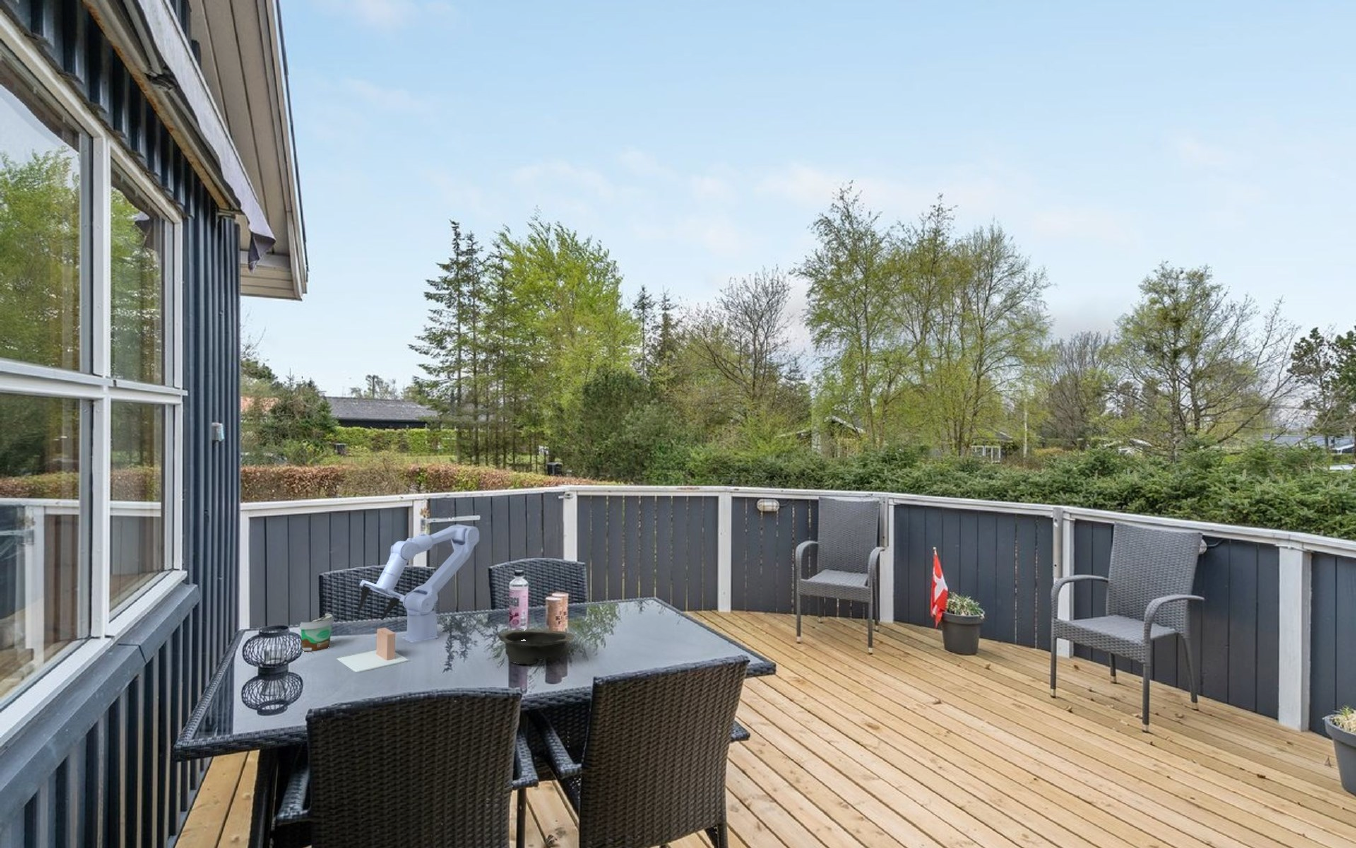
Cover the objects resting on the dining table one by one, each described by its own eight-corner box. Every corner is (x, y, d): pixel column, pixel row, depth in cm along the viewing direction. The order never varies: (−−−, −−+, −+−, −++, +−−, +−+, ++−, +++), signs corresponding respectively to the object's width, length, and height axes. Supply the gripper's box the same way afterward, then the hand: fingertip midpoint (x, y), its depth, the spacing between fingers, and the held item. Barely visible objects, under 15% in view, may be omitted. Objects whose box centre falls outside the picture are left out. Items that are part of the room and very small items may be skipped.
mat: (386, 648, 227) (386, 646, 227) (410, 662, 214) (410, 660, 214) (335, 659, 216) (335, 657, 216) (356, 674, 203) (357, 672, 203)
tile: (384, 652, 221) (385, 627, 222) (395, 658, 216) (395, 633, 216) (376, 654, 220) (377, 629, 220) (386, 660, 214) (387, 634, 214)
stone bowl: (504, 674, 205) (503, 642, 206) (491, 654, 228) (491, 626, 229) (584, 663, 215) (584, 633, 216) (564, 645, 238) (564, 618, 239)
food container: (315, 656, 218) (316, 624, 218) (298, 654, 219) (299, 622, 219) (342, 644, 230) (342, 614, 230) (325, 642, 231) (326, 612, 231)
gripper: (368, 565, 224) (347, 605, 218) (411, 582, 226) (391, 622, 221) (369, 568, 230) (348, 607, 224) (411, 584, 233) (392, 624, 227)
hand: (370, 615), depth 223 cm, fingers open, 7 cm apart
